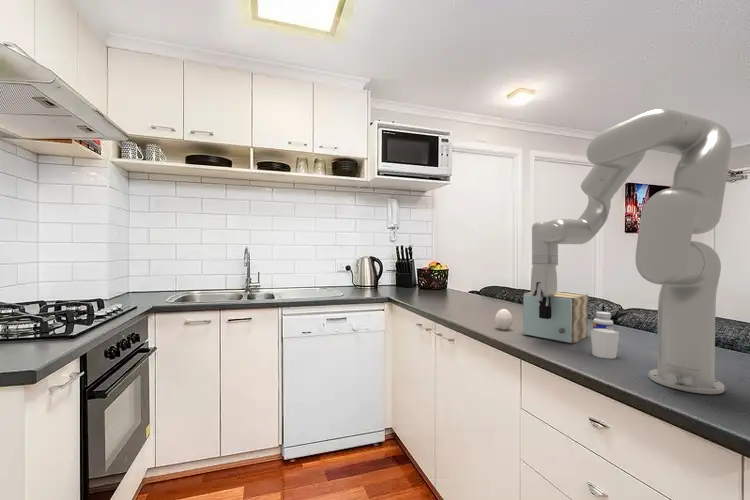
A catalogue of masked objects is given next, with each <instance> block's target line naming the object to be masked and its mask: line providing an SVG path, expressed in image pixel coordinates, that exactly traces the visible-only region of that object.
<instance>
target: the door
mask: <svg viewBox="0 0 750 500" xmlns="http://www.w3.org/2000/svg"><path fill="white" fill-rule="evenodd" d="M536 297H537V296H532V295H526V294H524V308H523V307H522V309H523V311H522V315H523V316H522V335H524V334H526V335H525V336H527V335H528V336H533V337H538V338H543V339H547V340H553V341H558V342H564V343H570V344H572V343H571V342H572V299H565V298H555V297H552V305H551V319H543V318H539V304H538V301H537V300H536Z"/></svg>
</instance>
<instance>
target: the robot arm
mask: <svg viewBox="0 0 750 500" xmlns="http://www.w3.org/2000/svg"><path fill="white" fill-rule="evenodd" d="M647 151H657V152H660V153H661V152H662V153H667V154H675V155H678V156H680V159H679V161H678V162H677V164H676V166H675V168H674V173H673V179H672V187H670V188H665V189H662V190H659V191H657V192H656V193H654V194H653V195H652V196H651V197H649V198H648V199H647V201H645V204H644V205H643V208H642V210H641V213H640V220H639V225H638V227H639V228H638V235H637V241H636V242H637V243H636V247H635V249H636V250H635V258H634V259H635V267H636V270H637V271H638V273H639V275H640V276H641V277H642V278H643V279H644V280H646V281H647V282H649V283H651V284H654V285H661V287H660V291H659V295H658V301H657V302H658V303H657V349H656V351H657V361H656V362H657V364H656V368H654V369H651V370H649V371H648V378H649V379H650V380H651V381H652V382H655V383H656V384H659V385H662V386H664V387H667V388H671V389H675V390H678V391H683V392H686V393H687V392H688V393H693V394H701V395H702V394H703V395H720V394H723V393H725V389H726V388H725V385H724V384H723V383H722V382H721V381H719V380H717V379H715V370H716V369H715V368H716V367H715V365H716V363H715V360H716V359H715V358H716V357H715V355H716V350H715V349H716V313H717V311H716V310H717V309H716V304H717V303H716V302H717V292H718V285H719V283H720V282H719V281H720V277H721V272H722V263H721V262H722V261H721V259H720V257H719V255H718V253H717V252H716V250H715V249H713V248H712V247H711V246H709V245H708V244H706V243H703V242H700V241H696V240H692V237H693V235H702V234H705V233H708V232H710V231H712V230H713V229H714V228H716V227H717V225H718V224H719V222H720V219H721V216H722V211H723V204H724V197H725V191H726V184H727V174H728V168H729V163H730V158H731V153H732V139H731V135H730V133H729V132H728V130H727V129H726V128H725V127H724V125H721V124H720V123H718V122H716V121H713V120H711V119H707V118H705V117H701V116H698V115H694V114H689V113H686V112H680V111H677V110H674V109H670V108H657V109H656V108H655V109H652V110H648V111H646V112H643V113H640V114H637V115H636V116H633V117H632V118H629V119H627V120H625V121H623V122H620V123H618V124H615V125H614V126H611V127H609V128H607V129H604V130H603V131H601V132H600V133H598V134H597V135H596V136H594V138H592V140H591V141H590V142H589V144H588V146H587V149H586V158H587V160H588V161H589V163H591V164H592V165H593V166H592V168H591V169H590V170H589V172H588V173H587V175H586V176H585V178H584V179H583V181H582V182H581V184H580V189H581V191H582V192H583V193H584V194H585V195H586V196H587V198H588V199H587V200H588V201H587V202H588V203H587V206H586V208H585V210H584V211H583V213H582V214H581V215H580V216H579V218H577V219H572V218H568V219H567V218H565V219H564V218H556V219H553V220H549V221H539V222H535V223H533V224H532V225H531V266H532V268H531V276H530V292H531V295H532V296H537V297H536V300H537V301H538V304H539V318H543V319H551V305H552V297H553V296H554V295H556V293H557V292H558V274H557V266H559V245H583V244H587V243H588V242H589V241H591V240H592V239H593V238H594V237H596V235H597V234H598V233H599V232H600V230H601V229H603V226H604V225H605V224H606V222H607V220H608V218H609V214H610V210H611V205H612V204H611V200H612V199H613V198H614V196H615V194H616V193H617V192H618V191H619V190H620V188H621V187H622V186H623V184H624V183H625V182H626V181H627V180H628V178H629V177H630V175H631V174H632V173H633V172H634V170H635V169H636V168H637V167H638V165H639V164H640V163H641V162H642V160H643V159H644V157H645V156H646V152H647Z"/></svg>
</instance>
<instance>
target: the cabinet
mask: <svg viewBox="0 0 750 500" xmlns="http://www.w3.org/2000/svg"><path fill="white" fill-rule="evenodd" d="M524 294H526V295H531V291H530V292H524V293H523V298H522V299H523V304H522V306H523V307H522V309H523V308H524ZM553 297H555V298H565V299H572V342H571V343H570V344H575V343H578V342H579V341H581V340H583V339H585V338H587V337H588V330H589V329H588V326H589V325H588V322H589V321H588V320H589V319H588V317H589V316H588V313H589V312H588V311H589V310H588V309H589V294H584V293H583V294H582V293H581V294H580V293H572V292H559V291H557V293H556V295H554V296H553ZM523 335H525V336H527V335H526V334H523Z"/></svg>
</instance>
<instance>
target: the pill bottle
mask: <svg viewBox="0 0 750 500" xmlns="http://www.w3.org/2000/svg"><path fill="white" fill-rule="evenodd" d="M611 318H612V313H611V312H608V311H596V312H595V318H594V319H593V321H592V328H603V329H610V330H614V321H613V320H612V319H611Z"/></svg>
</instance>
